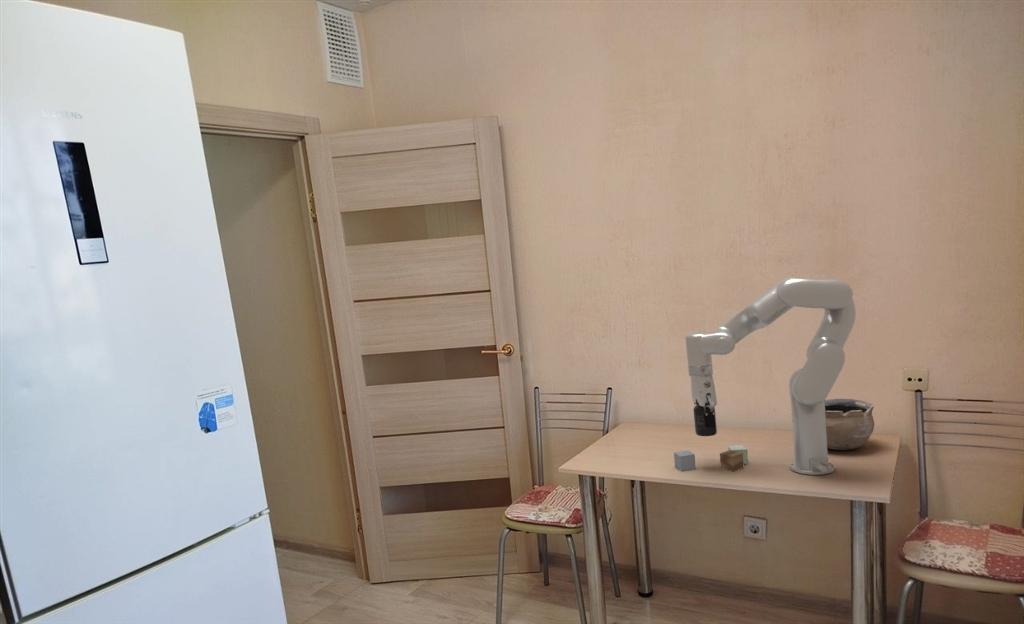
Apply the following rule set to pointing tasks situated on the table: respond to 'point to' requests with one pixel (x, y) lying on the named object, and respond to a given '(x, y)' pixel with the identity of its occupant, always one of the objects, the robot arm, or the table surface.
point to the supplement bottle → (700, 424)
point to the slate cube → (684, 460)
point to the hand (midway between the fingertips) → (705, 424)
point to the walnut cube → (731, 460)
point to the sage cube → (740, 449)
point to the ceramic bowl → (848, 423)
